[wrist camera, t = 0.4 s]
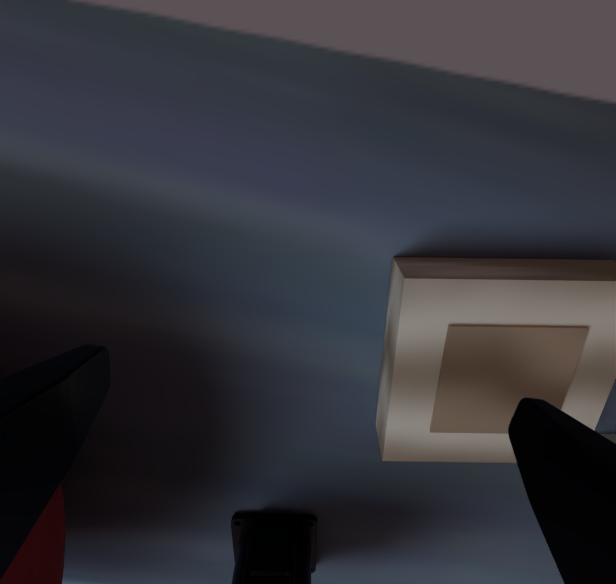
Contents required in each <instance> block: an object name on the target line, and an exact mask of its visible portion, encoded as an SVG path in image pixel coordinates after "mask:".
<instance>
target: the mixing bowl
mask: <svg viewBox="0 0 616 584" xmlns="http://www.w3.org/2000/svg"><path fill="white" fill-rule="evenodd" d="M64 551H65V509H64V497H63V492H62V489H61V485H59V486H58V488H57V489H56V491H55V493H54V494H53V496H52V498H51V499H50V501H49V502H48V504H47V506H46V507H45V509H44V511H43V512H42V514H41V516H40V517H39V519H38V520H37V522H36V524H35V525H34V527H33V529H32V530H31V532H30V533H29V535H28V537H27V538H26V540H25V542H24V543H23V545H22V547H21V548H20V550H19V551H18V553H17V555H16V556H15V558H14V560H13V561H12V563H11V565H10V566H9V568H8V569H7V571H6V573H5V574H4V576H3V578H2V579H1V581H0V584H62V578H63V567H64Z"/></svg>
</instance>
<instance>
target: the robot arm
mask: <svg viewBox="0 0 616 584" xmlns="http://www.w3.org/2000/svg"><path fill="white" fill-rule="evenodd" d="M109 386H110V365H109V353H108V350H107V348H106V347H104V346H98V345H90V344H86V345H83V346H80V347H78V348H75V349H73V350H70V351H68V352H65V353H63V354H60V355H58V356H55V357H53V358H50V359H48V360H45V361H43V362H40V363H38V364H36V365H33V366H31V367H28V368H26V369H23V370H21V371H18V372H16V373H13V374H11V375H8V376H6V377H3V378H1V379H0V581H1V579H2V578H3V576H4V574H5V573H6V571H7V569H8V568H9V566H10V565H11V563H12V561H13V560H14V558H15V556H16V555H17V553H18V551H19V550H20V548H21V547H22V545H23V543H24V542H25V540H26V538H27V537H28V535H29V533H30V532H31V530H32V529H33V527H34V525H35V524H36V522H37V520H38V519H39V517H40V516H41V514H42V512H43V511H44V509H45V507H46V506H47V504H48V502H49V501H50V499H51V498H52V496H53V494H54V493H55V491H56V489H57V488H58V486H59V485H60V483H61V481H62V480H63V478H64V476H65V475H66V473H67V471H68V470H69V468H70V467H71V465H72V463H73V461H74V460H75V458H76V456H77V455H78V453H79V451H80V449H81V447H82V445H83V443H84V440H85V438H86V436H87V434H88V432H89V430H90V428H91V426H92V423H93V421H94V419H95V417H96V415H97V413H98V411H99V409H100V406H101V404H102V402H103V400H104V398H105V396H106V394H107V392H108V389H109ZM508 435H509V439H510V442H511V446H512V449H513V452H514V455H515V458H516V461H517V464H518V467H519V471H520V474H521V477H522V480H523V483H524V486H525V489H526V493H527V495H528V498H529V501H530V504H531V506H532V509H533V511H534V514H535V516H536V518H537V521H538V523H539V525H540V528H541V530H542V532H543V535H544V537H545V539H546V542H547V544H548V546H549V549H550V551H551V553H552V556H553V558H554V560H555V563H556V565H557V567H558V570H559V572H560V574H561V577H562V579H563V581H564V584H616V444H615V443H614V442H612V441H610V440H609V439H607V438H606V437H604V436H602V435H601V434H599V433H597V432H596V431H594V430H593V429H591V428H589V427H588V426H586V425H584V424H583V423H581V422H579V421H578V420H576V419H575V418H573V417H571V416H570V415H568V414H566V413H565V412H563V411H562V410H560V409H558V408H557V407H555V406H553V405H552V404H550V403H548V402H547V401H545V400H543V399H539V398H530V397H524V398H522V399H521V400H520V401H519V403H518V405H517V408H516V410H515V412H514V415H513V417H512V419H511V421H510V424H509V427H508ZM231 528H232V538H233V548H234V557H235V567H234V573H233V579H232V584H311V573H313V572H315V570H316V539H317V518H316V517H315V516H313V515H275V514H235V515H233V516H232V520H231Z"/></svg>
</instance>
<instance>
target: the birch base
mask: <svg viewBox="0 0 616 584" xmlns="http://www.w3.org/2000/svg"><path fill="white" fill-rule="evenodd" d="M615 379H616V261H614V260H579V259H504V258H428V257H393V263H392V272H391V282H390V291H389V301H388V310H387V320H386V329H385V339H384V348H383V358H382V367H381V377H380V386H379V396H378V405H377V415H376V424H375V426H376V431H377V436H378V441H379V446H380V451H381V456H382V461H417V462H485V463H517V461H516V458H515V455H514V452H513V449H512V446H511V442H510V439H509V435H508V427H509V424H510V421H511V419H512V417H513V415H514V412H515V410H516V408H517V405H518V403H519V401H520V400H521V399H522V398H524V397H530V398H539V399H543V400H545V401H547V402H548V403H550V404H552V405H553V406H555V407H557V408H558V409H560V410H562V411H563V412H565V413H566V414H568V415H570V416H571V417H573V418H575V419H576V420H578V421H579V422H581V423H583V424H584V425H586V426H588V427H589V428H591V429H593V430H594V431H595V428H596V426H597V423H598V421H599V418H600V416H601V413H602V411H603V408H604V406H605V403H606V401H607V398H608V396H609V393H610V391H611V388H612V386H613V383H614V381H615Z"/></svg>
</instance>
